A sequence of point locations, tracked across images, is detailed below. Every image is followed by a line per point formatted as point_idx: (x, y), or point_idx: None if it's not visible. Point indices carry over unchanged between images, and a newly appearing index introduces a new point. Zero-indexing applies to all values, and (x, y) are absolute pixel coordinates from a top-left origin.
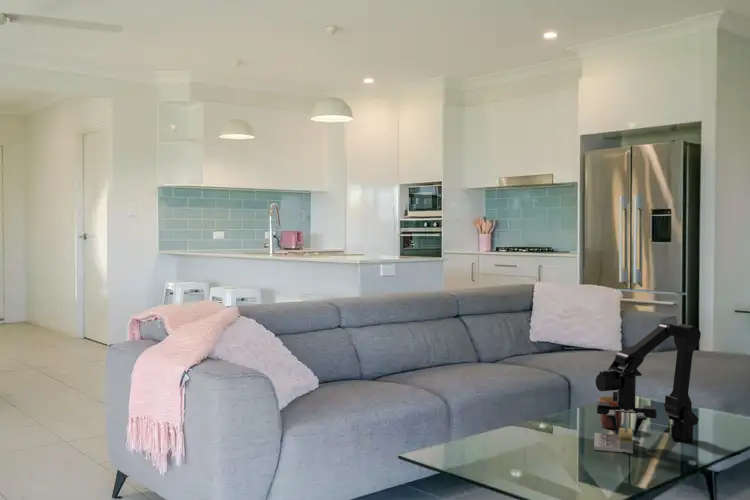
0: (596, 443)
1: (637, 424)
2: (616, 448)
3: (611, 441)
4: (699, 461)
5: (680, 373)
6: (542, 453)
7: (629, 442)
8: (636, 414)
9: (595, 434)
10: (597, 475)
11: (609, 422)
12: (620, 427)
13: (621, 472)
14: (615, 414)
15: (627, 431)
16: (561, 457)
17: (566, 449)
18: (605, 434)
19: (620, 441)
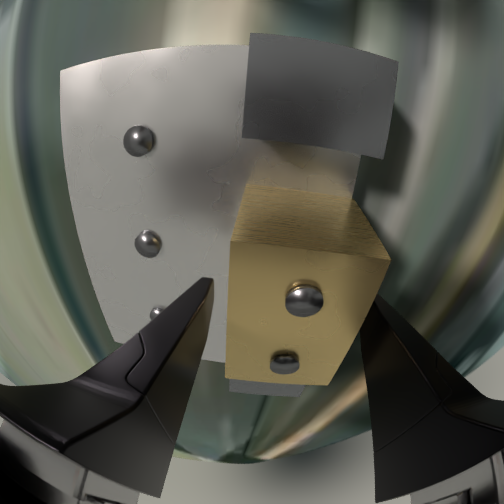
0: (109, 307)
1: (383, 440)
2: (216, 360)
3: (181, 261)
4: (485, 355)
5: None
6: (30, 347)
7: (285, 387)
8: (487, 450)
9: (65, 117)
10: (182, 439)
11: None
12: (243, 243)
13: (231, 437)
14: (138, 490)
15: (297, 369)
16: (73, 373)
17: (47, 322)
18: (130, 79)
19: (233, 381)
